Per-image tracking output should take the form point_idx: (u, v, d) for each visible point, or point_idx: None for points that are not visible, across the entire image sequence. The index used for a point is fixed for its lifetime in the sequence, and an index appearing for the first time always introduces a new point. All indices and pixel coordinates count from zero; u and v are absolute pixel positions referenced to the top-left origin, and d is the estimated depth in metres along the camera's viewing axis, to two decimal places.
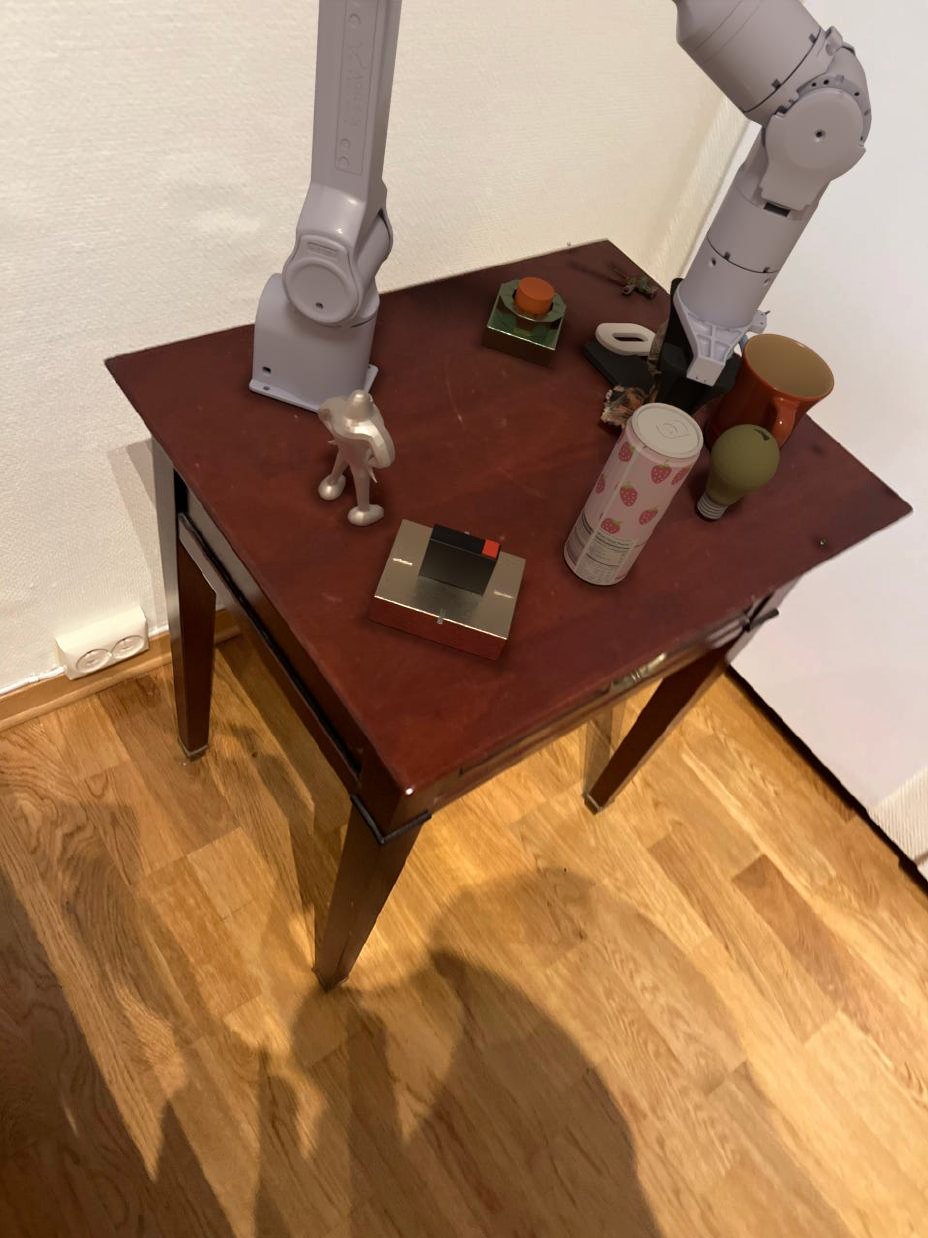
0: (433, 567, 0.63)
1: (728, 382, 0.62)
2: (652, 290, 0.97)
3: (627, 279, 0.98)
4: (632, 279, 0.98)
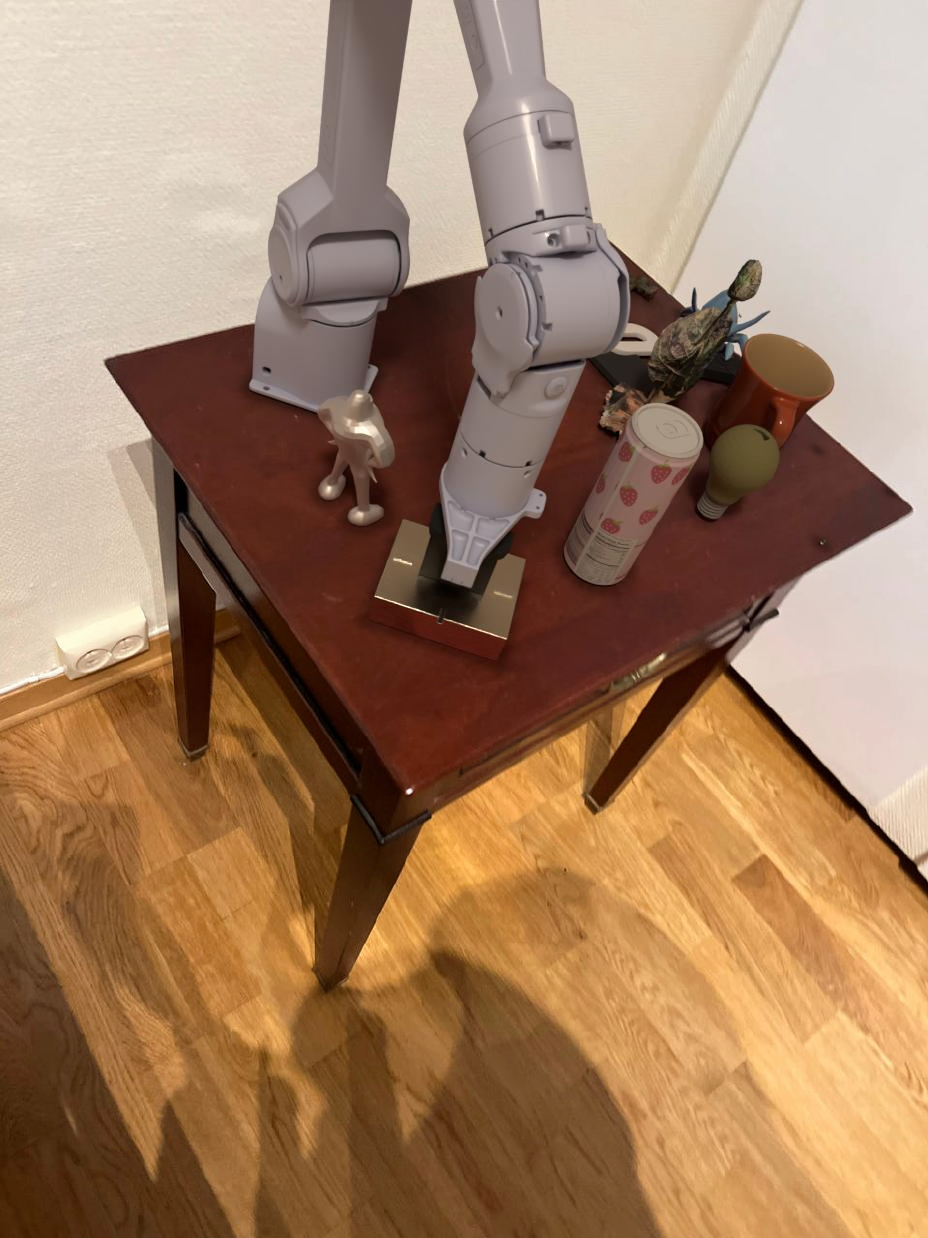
0: (433, 567, 0.63)
1: (503, 548, 0.57)
2: (651, 290, 0.96)
3: None
4: (631, 279, 0.97)
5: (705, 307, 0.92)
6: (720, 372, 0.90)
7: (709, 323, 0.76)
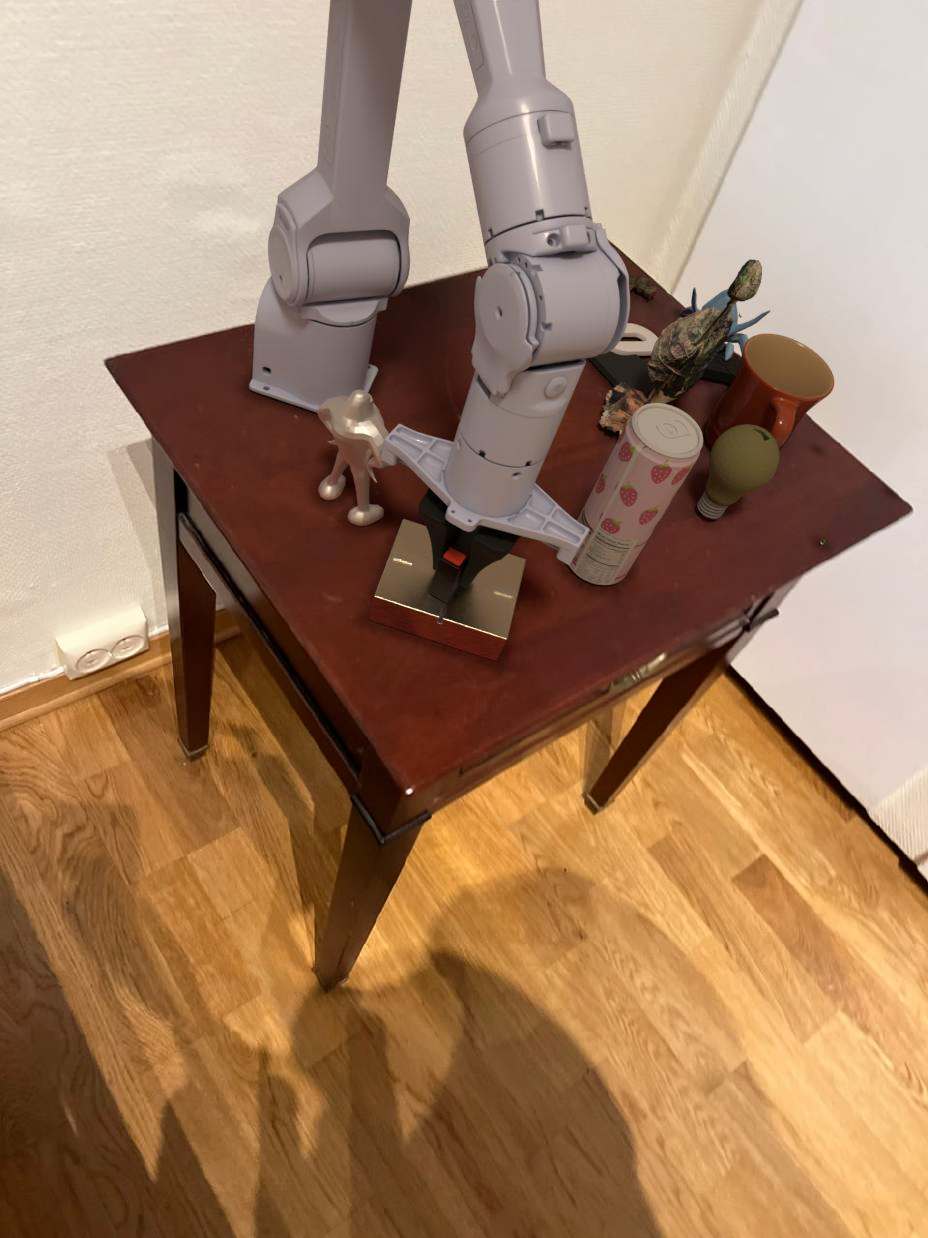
0: None
1: (426, 507, 0.57)
2: (650, 291, 0.96)
3: None
4: (631, 279, 0.97)
5: (705, 307, 0.92)
6: (720, 372, 0.90)
7: (709, 323, 0.76)
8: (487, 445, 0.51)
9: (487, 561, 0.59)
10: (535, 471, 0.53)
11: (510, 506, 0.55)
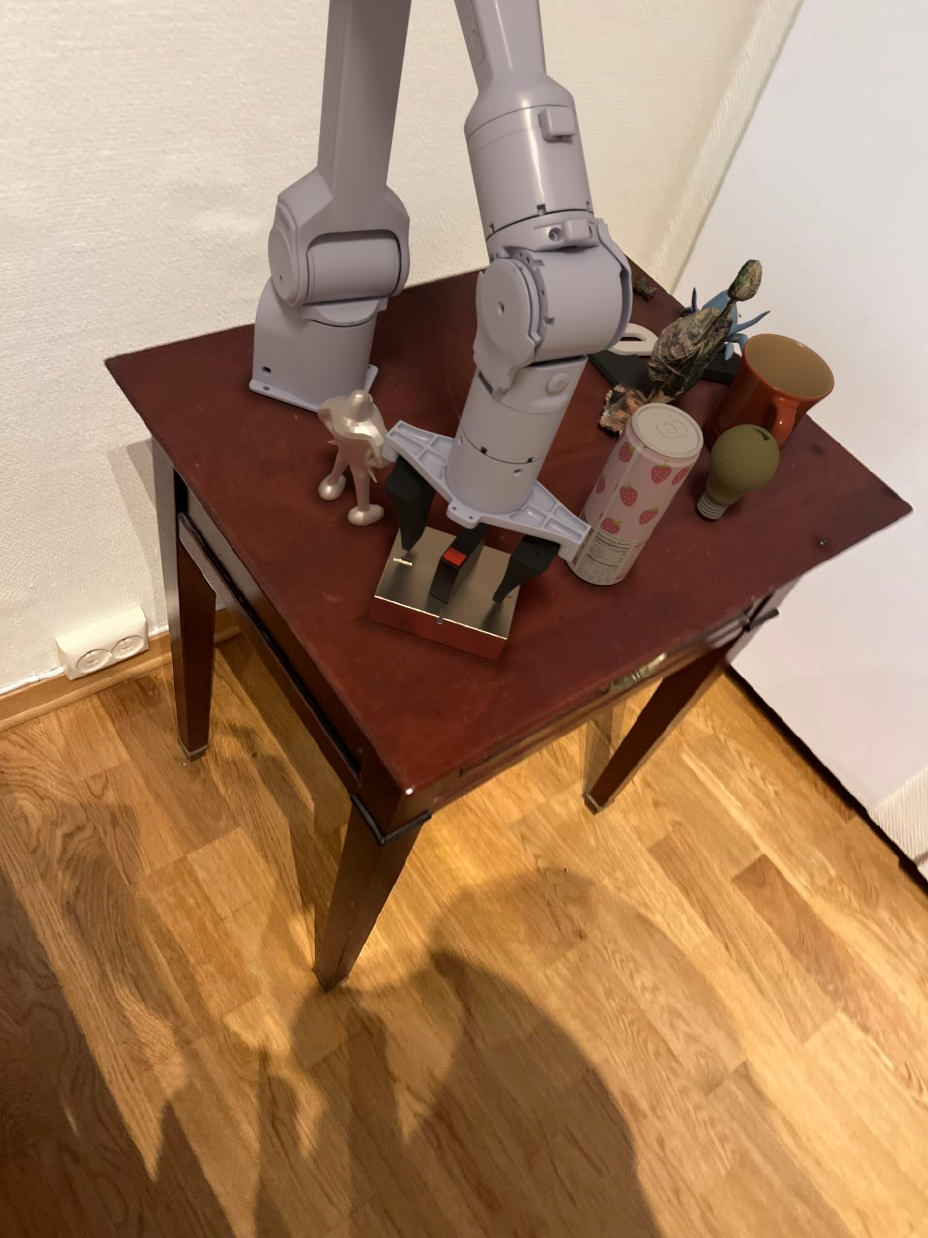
0: None
1: (391, 484, 0.57)
2: (650, 291, 0.96)
3: None
4: (631, 279, 0.97)
5: (705, 307, 0.92)
6: (720, 372, 0.90)
7: (709, 323, 0.76)
8: (488, 441, 0.50)
9: (523, 578, 0.58)
10: (537, 468, 0.53)
11: (511, 503, 0.54)
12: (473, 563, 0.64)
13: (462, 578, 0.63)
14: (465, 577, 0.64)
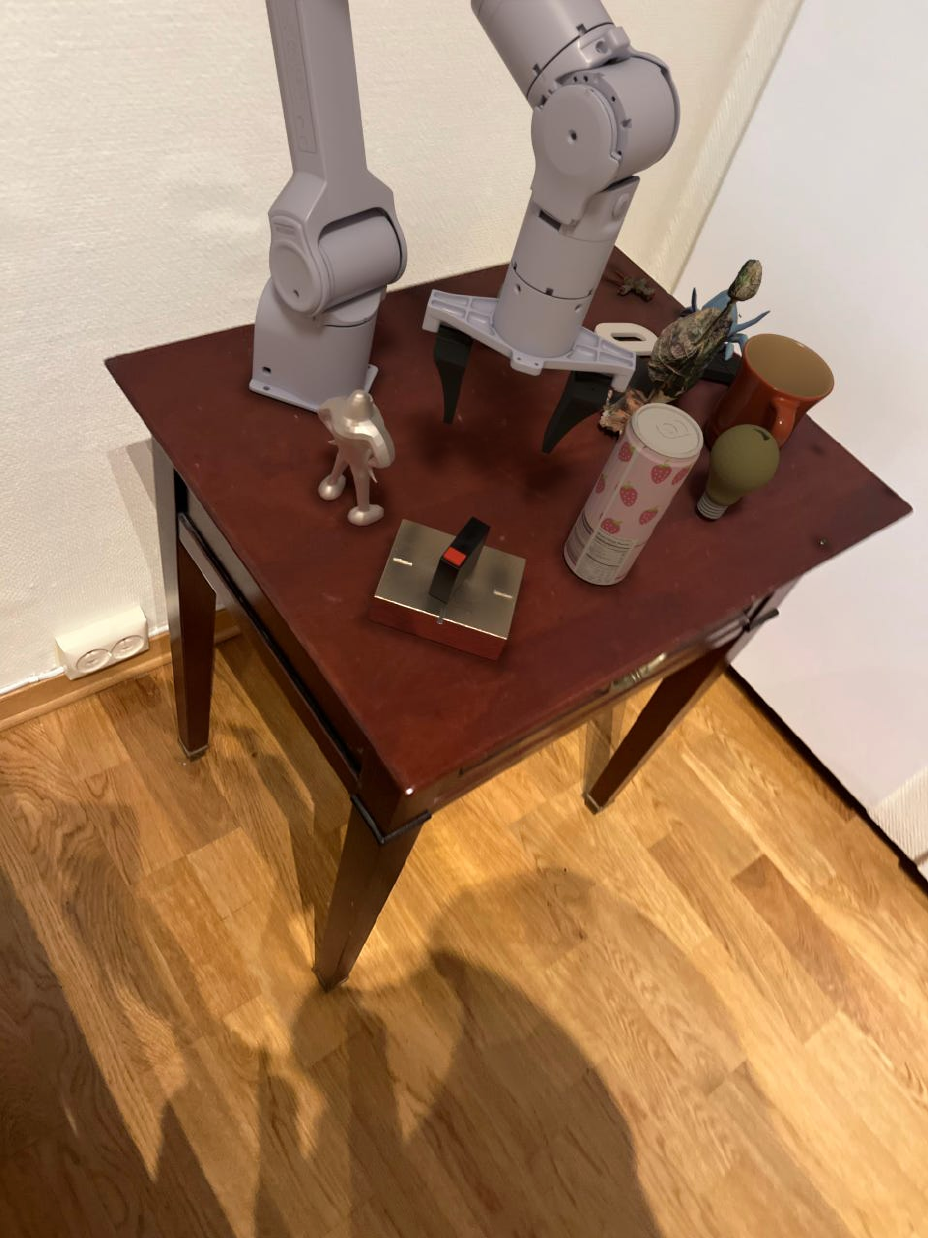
0: None
1: (441, 353, 0.58)
2: (648, 292, 0.96)
3: (625, 280, 0.98)
4: (630, 280, 0.97)
5: (705, 307, 0.92)
6: (720, 372, 0.90)
7: (709, 323, 0.76)
8: (555, 281, 0.52)
9: (580, 418, 0.61)
10: (590, 301, 0.55)
11: (568, 343, 0.57)
12: (473, 563, 0.64)
13: (462, 578, 0.63)
14: (465, 577, 0.64)
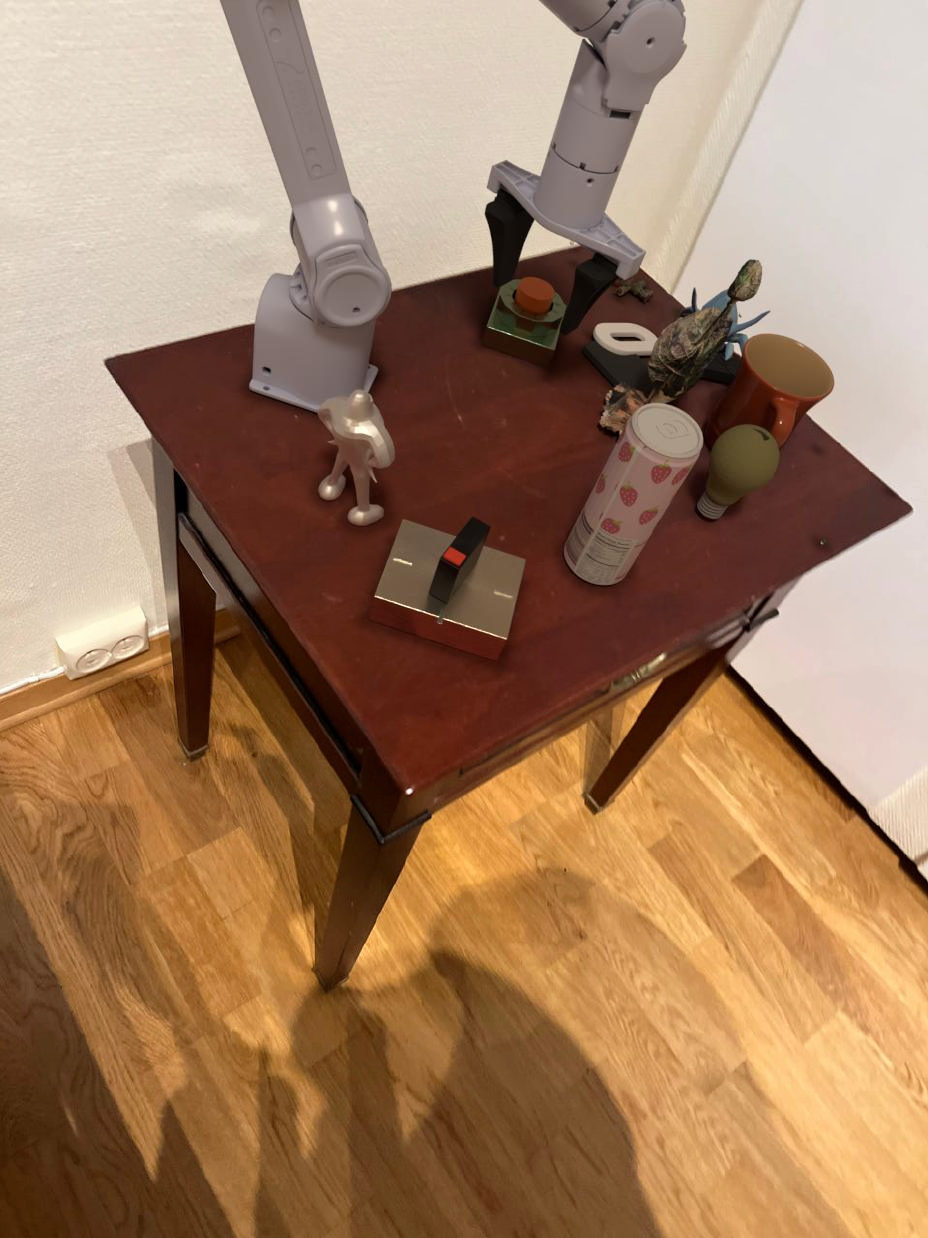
0: None
1: None
2: (645, 293, 0.96)
3: (623, 281, 0.97)
4: (628, 281, 0.97)
5: (705, 307, 0.92)
6: (720, 372, 0.90)
7: (709, 323, 0.76)
8: (621, 158, 0.65)
9: None
10: None
11: None
12: (473, 563, 0.64)
13: (462, 578, 0.63)
14: (465, 577, 0.64)
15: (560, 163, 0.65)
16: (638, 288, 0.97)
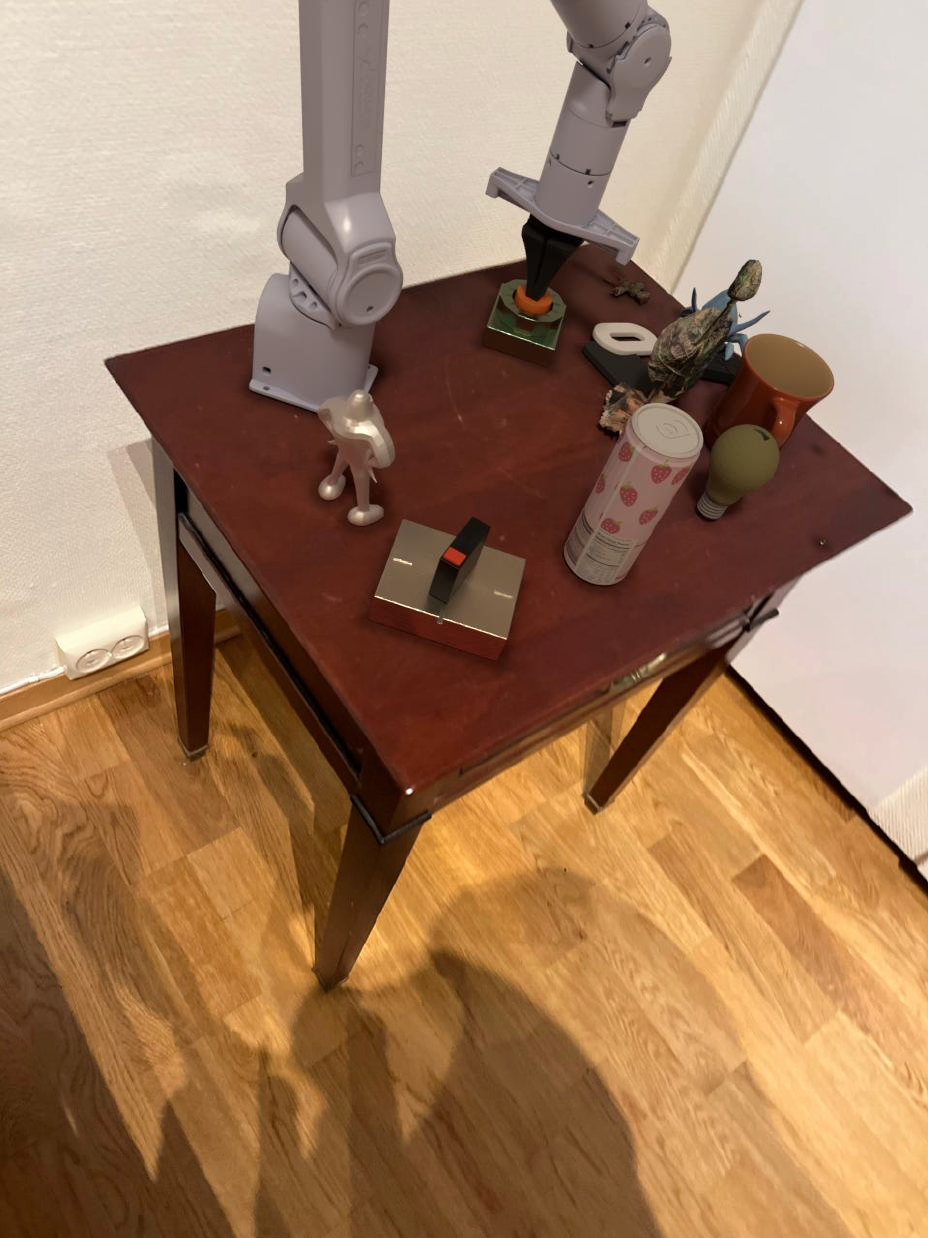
0: None
1: None
2: (642, 295, 0.96)
3: (621, 282, 0.97)
4: (625, 282, 0.97)
5: (705, 307, 0.92)
6: (720, 372, 0.90)
7: (709, 323, 0.76)
8: (616, 158, 0.73)
9: None
10: None
11: None
12: (473, 563, 0.64)
13: (462, 578, 0.63)
14: (465, 577, 0.64)
15: (563, 169, 0.73)
16: (635, 289, 0.96)
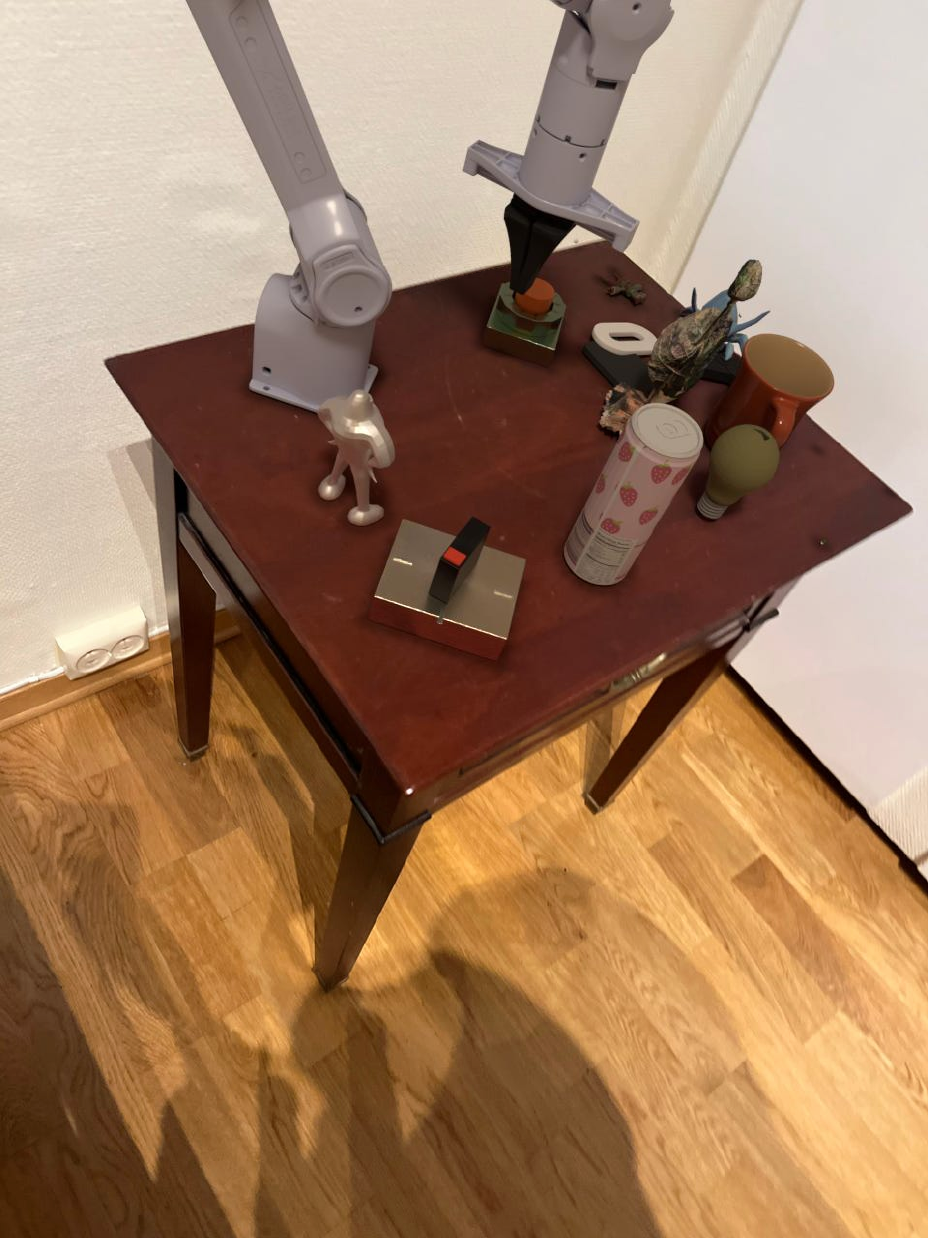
0: None
1: None
2: (637, 295, 0.95)
3: (618, 282, 0.97)
4: (623, 282, 0.97)
5: (705, 307, 0.92)
6: (720, 372, 0.90)
7: (709, 323, 0.76)
8: (607, 131, 0.63)
9: None
10: None
11: None
12: (473, 563, 0.64)
13: (462, 578, 0.63)
14: (465, 577, 0.64)
15: (550, 140, 0.63)
16: (631, 290, 0.96)
